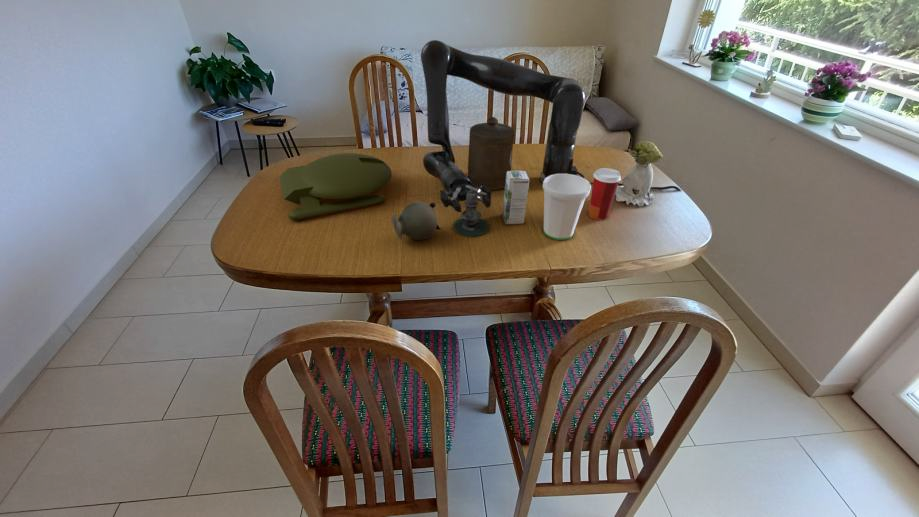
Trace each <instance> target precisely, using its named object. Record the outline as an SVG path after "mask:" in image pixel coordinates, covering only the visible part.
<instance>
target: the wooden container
mask: <svg viewBox="0 0 919 517" xmlns="http://www.w3.org/2000/svg"><path fill="white" fill-rule="evenodd" d="M514 140H515V129H514V128H513V127H512V126H510V125H508V124H504V123H499V120H498V118H496V117H494V116H491V117H488V118H487V120H486V122H482V123H481V122H480V123H477V124H473V125H472V126H471V127H470V129H469V141H468V155H467V156H468V158H467V161H468V162H467V178H468V179H469V180H470V181H471V183H472V185H473V186H475V187H480V184H484V185H485V186H486V187H487V188H488V189H489V190H490V191H496V190H501V189H505V184H506V174H507V171H512V167H513V166H512V164H513V151H514V150H513V149H514Z"/></svg>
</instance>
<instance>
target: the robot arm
mask: <svg viewBox="0 0 919 517" xmlns="http://www.w3.org/2000/svg"><path fill="white" fill-rule="evenodd" d="M420 62H421V66H422V70H423V77H424V83H425V91H426V109H427V110H426V113H427V114H426V118H427V119H426V120H427V122H426V123H427V139H428V143H429V144H432V145H437V146H441V148H442V150H434V151H427V152H426V153H425V154H424V156H423V158H422V165H423V167H424V170H425V171H426V172H427V173H428V174H429V175H430V176H431V177H433V178H436V179H438V180H439V182H440V183H441V186H442V187H443V188H444V189H440V190H439V199H440V201H441V203H442V205H443V207H444V208H448V207H451V208H453V210H454V211H455V212H457V213H462V205H461V203H460V202H464V201H465V202H466V194H467V192H468V191H471V189H473V191H475V192H476V193H477V202H482V203H483V205H484V206H485V207H486V209H488V208H490V207H491V205H492V190H489V189H488V188H487V187H486V186H485V185H484V184H480V187H475V186H473V185H472V183H471V181H470V180H469V179H468V175H466V174H465V173H464V172H463V170H461V169H460V168H459V167H458V166H457V164H456V159H455V155H454V152H453V148H452V145H451V138H450V114H449V106H448V97H447V83H448V76H451V77H456V78H459V79H463V80H466V81H469V82H471V83H473V84H475V85H477V86H479V87H482V88H484V89H487V90H490V91H493V92H496V93H500V94H502V95H507V96H514V97H533V98H538V99H541V100H544V101H546V102H549V103H551V104H552V108H551V115H550V121H549V124H548V127H547V136H546V143H545V150H544V157H543V158H544V159H543V165H542V171H540V176H541V178H540V182H541V183H542V184H543V181H544V179H545V178H546V177H548V176H550V175H554V174H572V175H576V176H579V177H582V178H584V179H586V177H585V174H583V173H582V172H579V171H578V168H577V166H576V165H574V151H575V146H576V141H577V135H578V130H579V128H580V125H581V121H582V115H583V110H584V107H585V99H586V98H585V91H584V89H583V87H582V85H581V84H580V82H579V81H578V80H576V79H574V78H571V77H565V76H559V75H554V74H548V73H543V72H541V71H537V70H535V69H533V68H530V67H527V66H524V65H521V64H519V63H516V62H513V61H509V60H505V59H502V58H499V57H495V56H494V57H493V56H489V55H479V54H474V53H473V54H472V53H468V52H465V51H462V50H460V49H458V48H455V47H453V46H451V45H449V44H446V43H445V42H443V41H441V40H438V39H433V40H429V41H428V42H426V43H425V44H424V45H423V47H422V49H421V51H420ZM589 183H590V185H593V182H589ZM618 186H624V185H623V184H622V182H619V184H618ZM669 189H674V190H676V191H678V192H681V188H680V187H679V186H676V185H668V186H651V187H650V189H649V190H660V191H661V190H662V191H663V190H669Z"/></svg>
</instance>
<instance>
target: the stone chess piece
mask: <svg viewBox="0 0 919 517" xmlns="http://www.w3.org/2000/svg"><path fill="white" fill-rule="evenodd" d="M464 205H465V210H464V211H461V212H460V217H461V219H462V220H463V223H462V228H463V229H465V230H469V231H473V230H477V229H478V228H479V227H480V224H479V223H478V222H479V220H480V219H482V213H481V212H480V211H478V210H477V208H478V207H477V206H478V205H479V201H477V193H476V192H475V191H473V189H471V191H468V192H467V194H466V200H465V202H464Z"/></svg>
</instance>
